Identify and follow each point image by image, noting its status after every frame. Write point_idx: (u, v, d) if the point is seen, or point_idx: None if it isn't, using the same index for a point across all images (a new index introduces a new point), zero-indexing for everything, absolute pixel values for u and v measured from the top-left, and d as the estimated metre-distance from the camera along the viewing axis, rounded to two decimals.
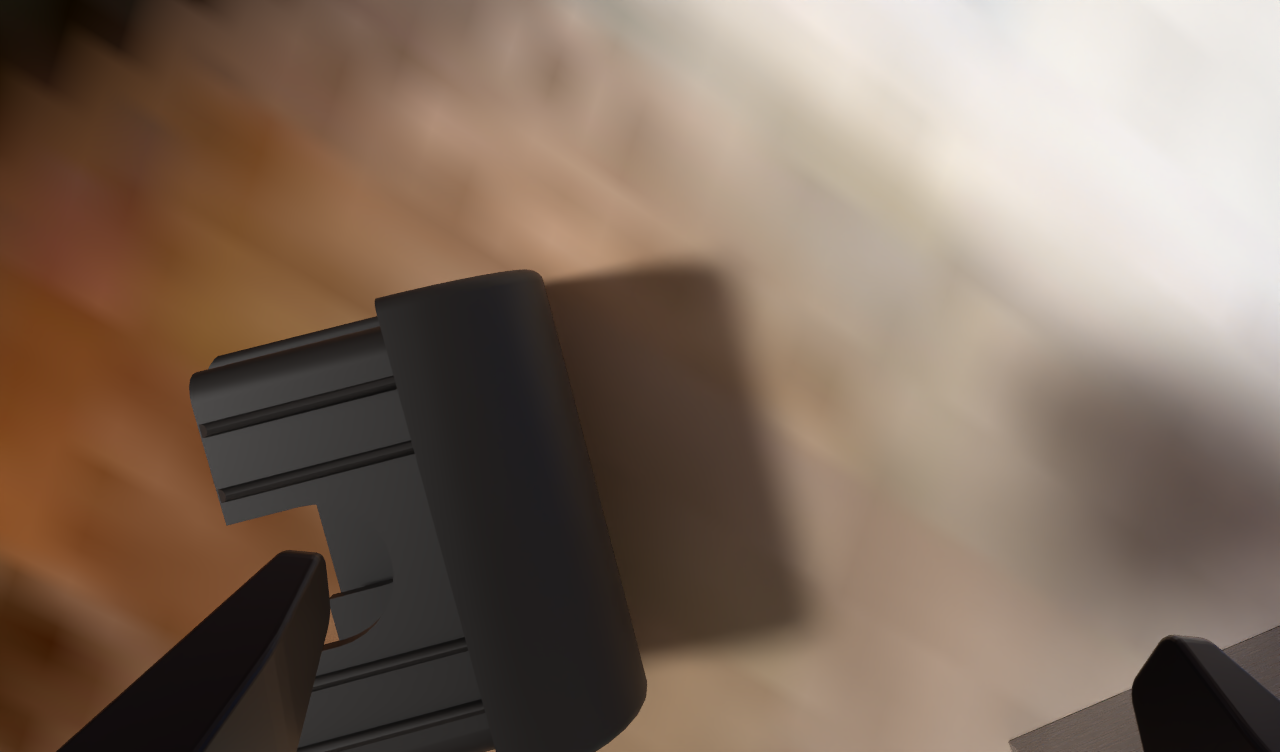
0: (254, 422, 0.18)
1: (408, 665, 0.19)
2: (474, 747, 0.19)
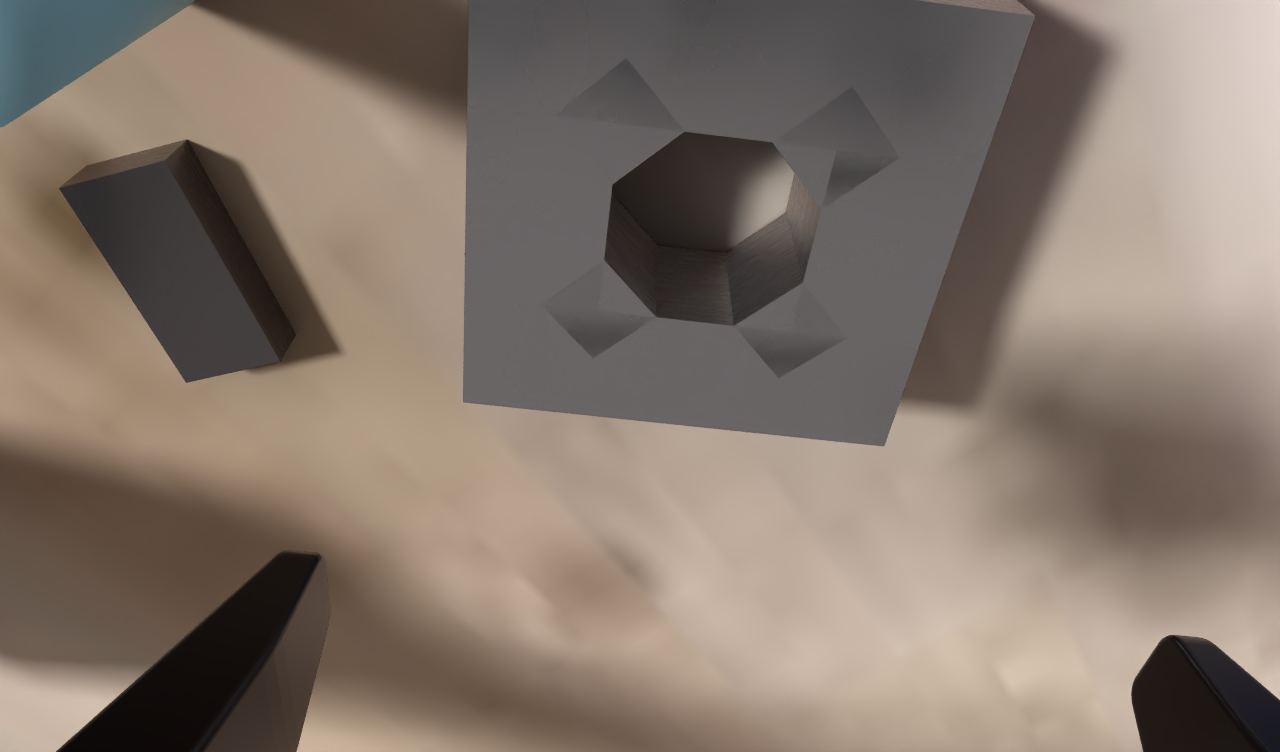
0: None
1: None
2: None
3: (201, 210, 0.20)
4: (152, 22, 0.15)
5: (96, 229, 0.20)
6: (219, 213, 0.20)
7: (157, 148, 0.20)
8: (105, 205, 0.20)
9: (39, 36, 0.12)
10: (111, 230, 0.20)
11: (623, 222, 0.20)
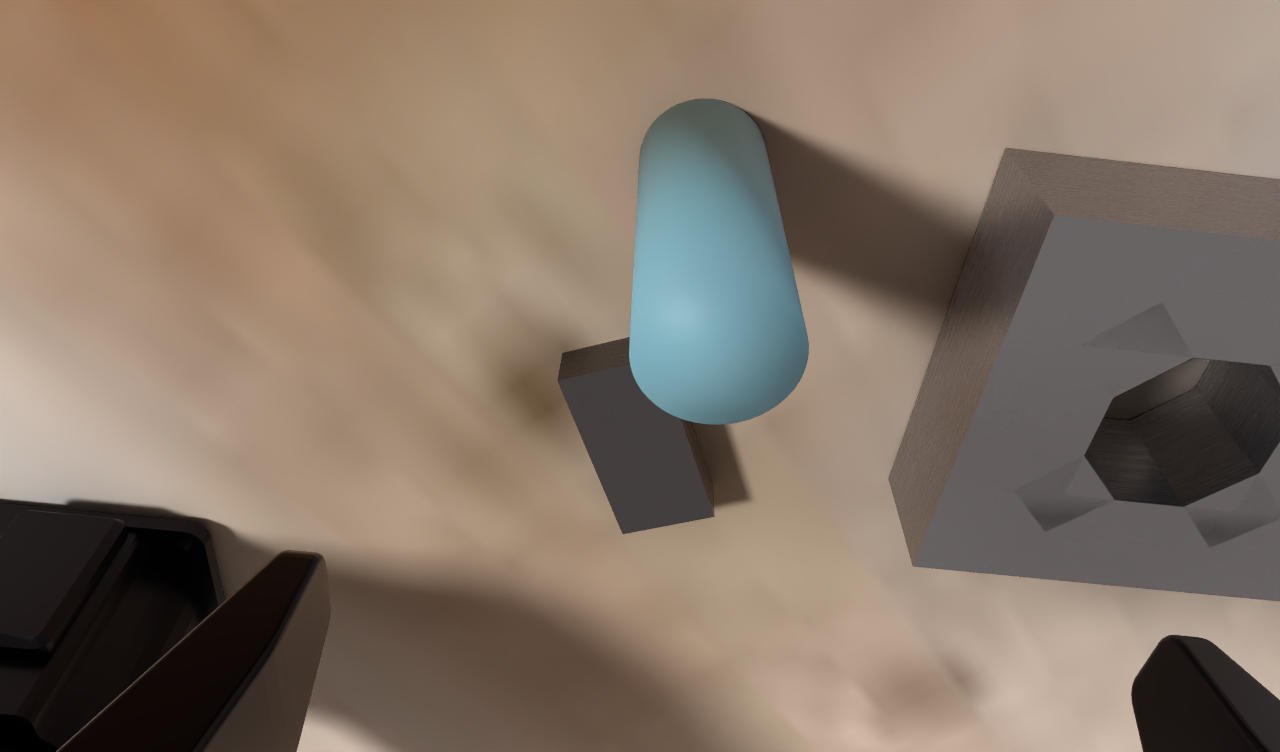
0: None
1: None
2: None
3: None
4: None
5: (580, 412, 0.22)
6: None
7: None
8: (594, 393, 0.22)
9: (805, 354, 0.14)
10: (594, 413, 0.22)
11: None
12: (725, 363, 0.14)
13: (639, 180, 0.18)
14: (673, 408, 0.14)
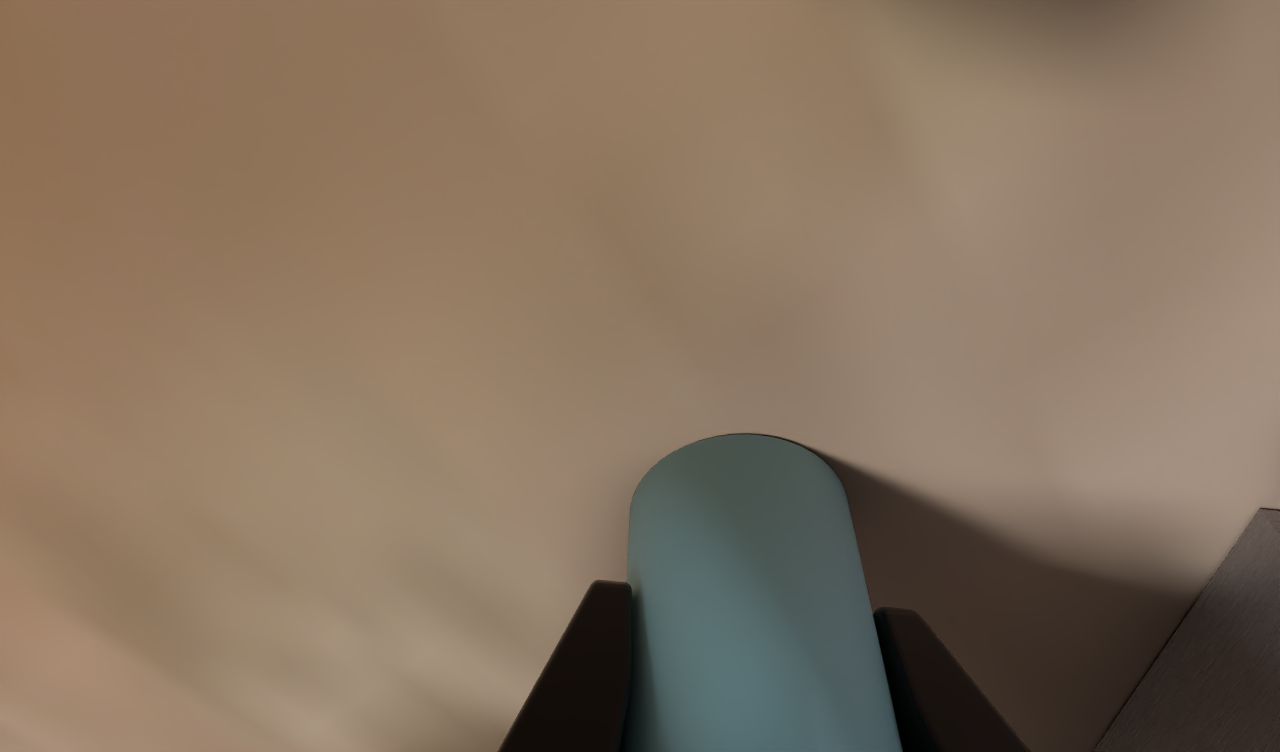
0: None
1: None
2: None
3: None
4: None
5: None
6: None
7: None
8: None
9: None
10: None
11: None
12: None
13: None
14: None
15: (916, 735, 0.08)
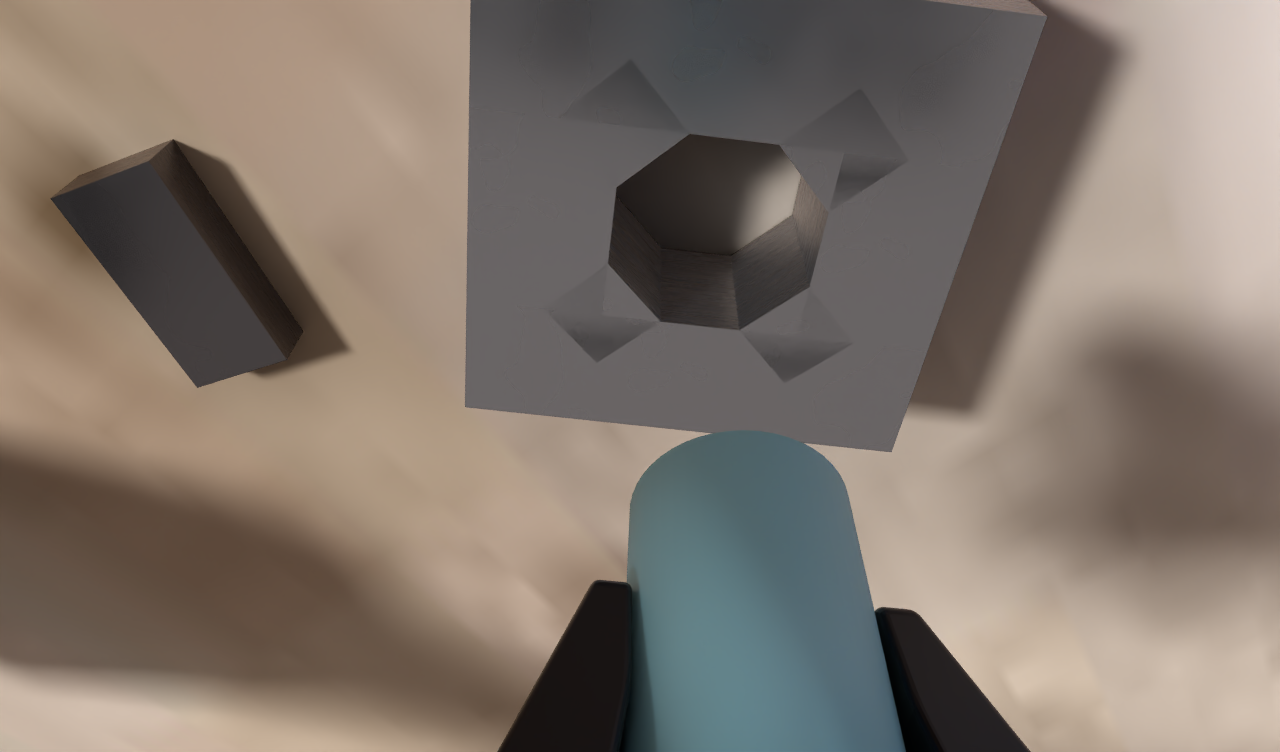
0: None
1: None
2: None
3: (191, 210, 0.20)
4: None
5: (91, 237, 0.20)
6: (212, 212, 0.20)
7: (144, 151, 0.20)
8: (97, 212, 0.19)
9: None
10: (105, 236, 0.20)
11: (627, 225, 0.20)
12: None
13: None
14: None
15: (916, 735, 0.08)
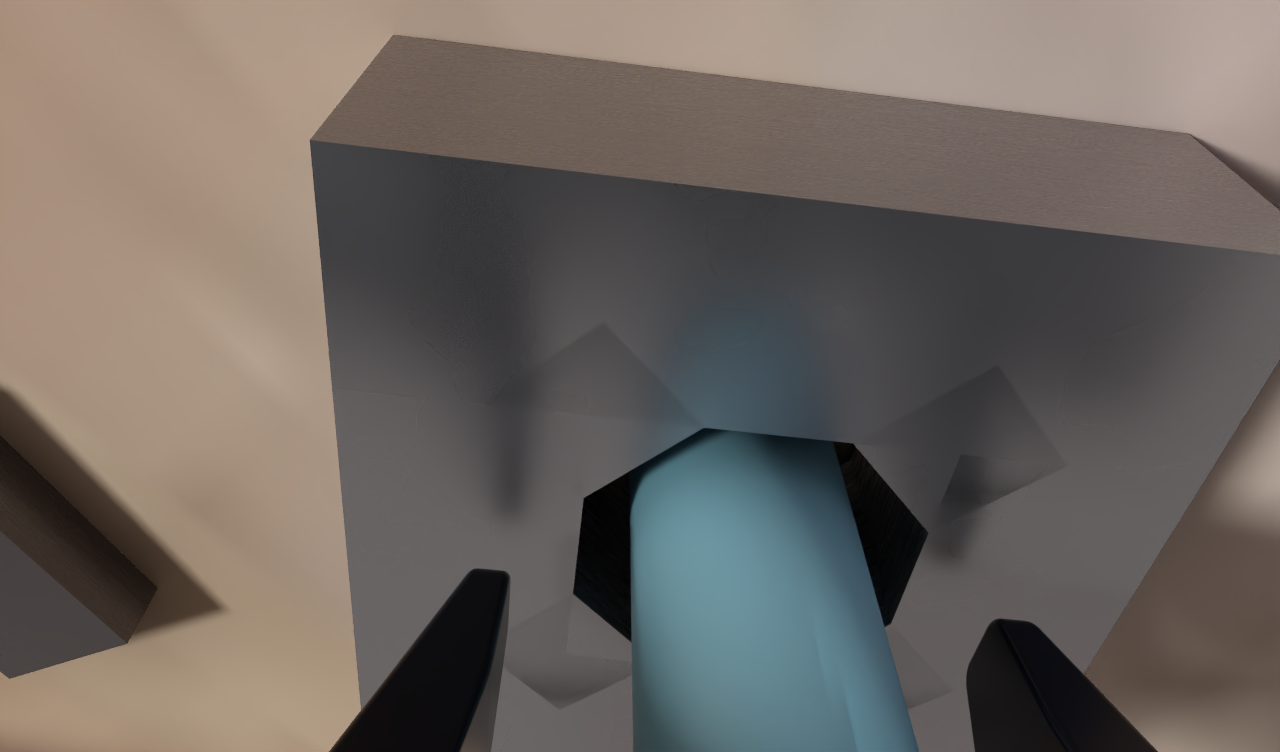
0: None
1: None
2: None
3: None
4: None
5: None
6: None
7: None
8: None
9: None
10: None
11: (607, 484, 0.13)
12: None
13: None
14: None
15: (1052, 747, 0.09)
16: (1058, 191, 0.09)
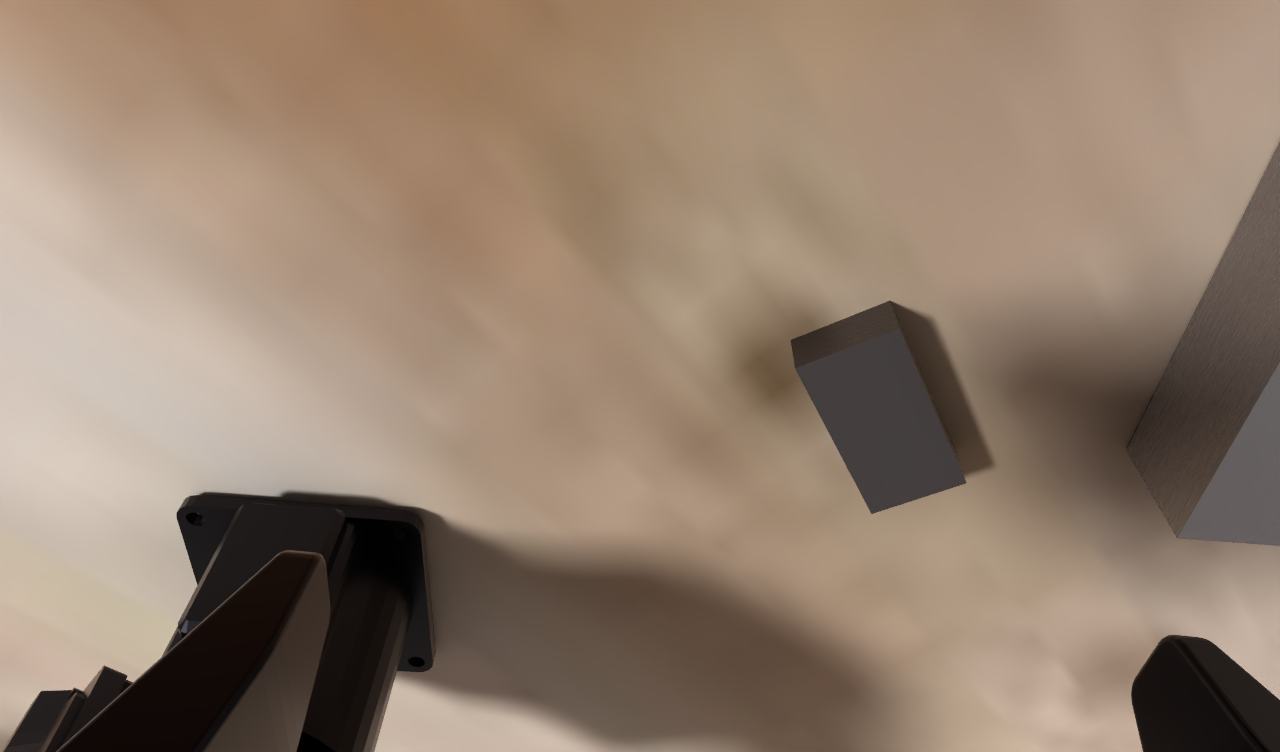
0: None
1: None
2: None
3: (914, 363, 0.21)
4: None
5: (820, 397, 0.22)
6: (915, 360, 0.22)
7: (863, 314, 0.22)
8: (833, 375, 0.21)
9: None
10: (834, 395, 0.22)
11: None
12: None
13: None
14: None
15: None
16: None
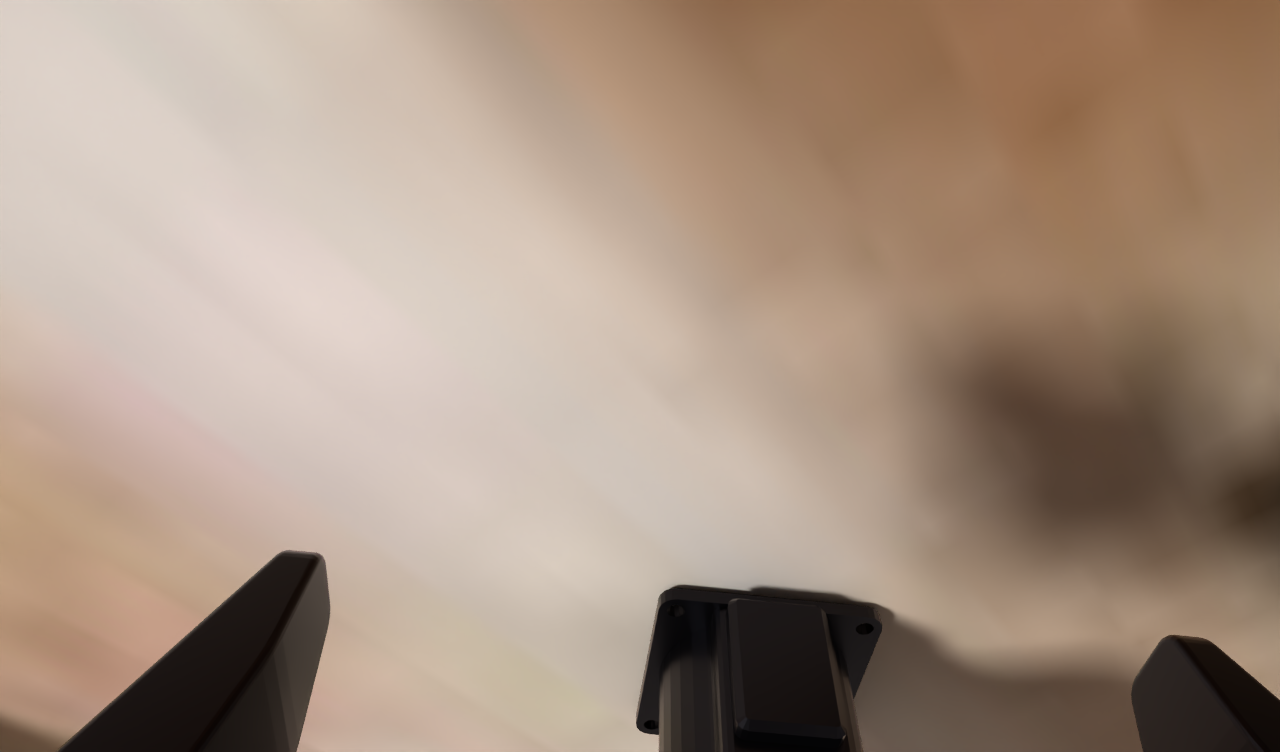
0: None
1: None
2: None
3: None
4: None
5: None
6: None
7: None
8: None
9: None
10: None
11: None
12: None
13: None
14: None
15: None
16: None
